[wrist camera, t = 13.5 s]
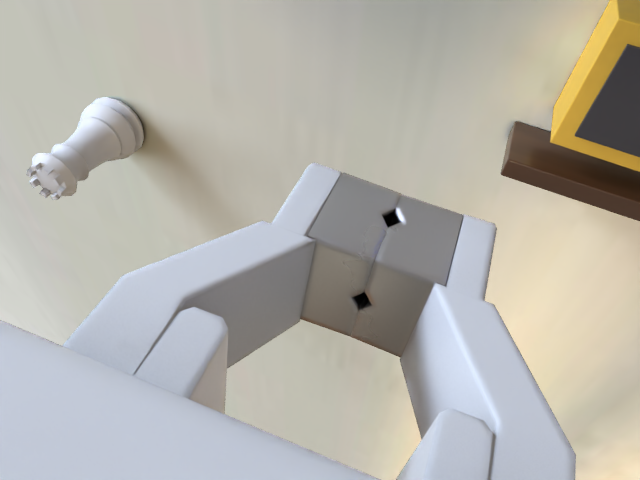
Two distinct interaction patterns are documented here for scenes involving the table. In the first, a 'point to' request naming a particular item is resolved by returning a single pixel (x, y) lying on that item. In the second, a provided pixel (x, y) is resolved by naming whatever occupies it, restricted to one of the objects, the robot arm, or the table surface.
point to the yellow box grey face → (605, 91)
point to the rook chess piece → (88, 147)
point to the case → (570, 172)
